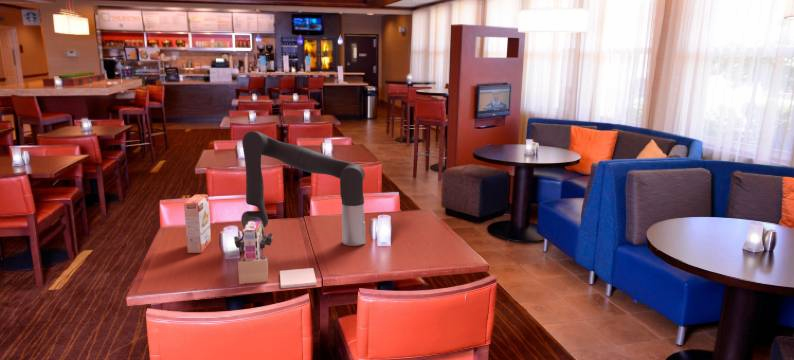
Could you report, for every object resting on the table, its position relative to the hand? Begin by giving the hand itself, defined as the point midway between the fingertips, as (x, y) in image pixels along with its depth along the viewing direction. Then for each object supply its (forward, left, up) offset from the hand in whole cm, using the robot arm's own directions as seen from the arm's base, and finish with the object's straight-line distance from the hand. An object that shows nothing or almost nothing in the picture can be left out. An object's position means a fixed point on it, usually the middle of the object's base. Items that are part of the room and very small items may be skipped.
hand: (253, 247), depth 187 cm
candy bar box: (0, -3, -9) cm, 10 cm away
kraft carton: (0, -4, -11) cm, 12 cm away
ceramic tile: (-15, +5, -11) cm, 19 cm away
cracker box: (+22, -36, -11) cm, 43 cm away
